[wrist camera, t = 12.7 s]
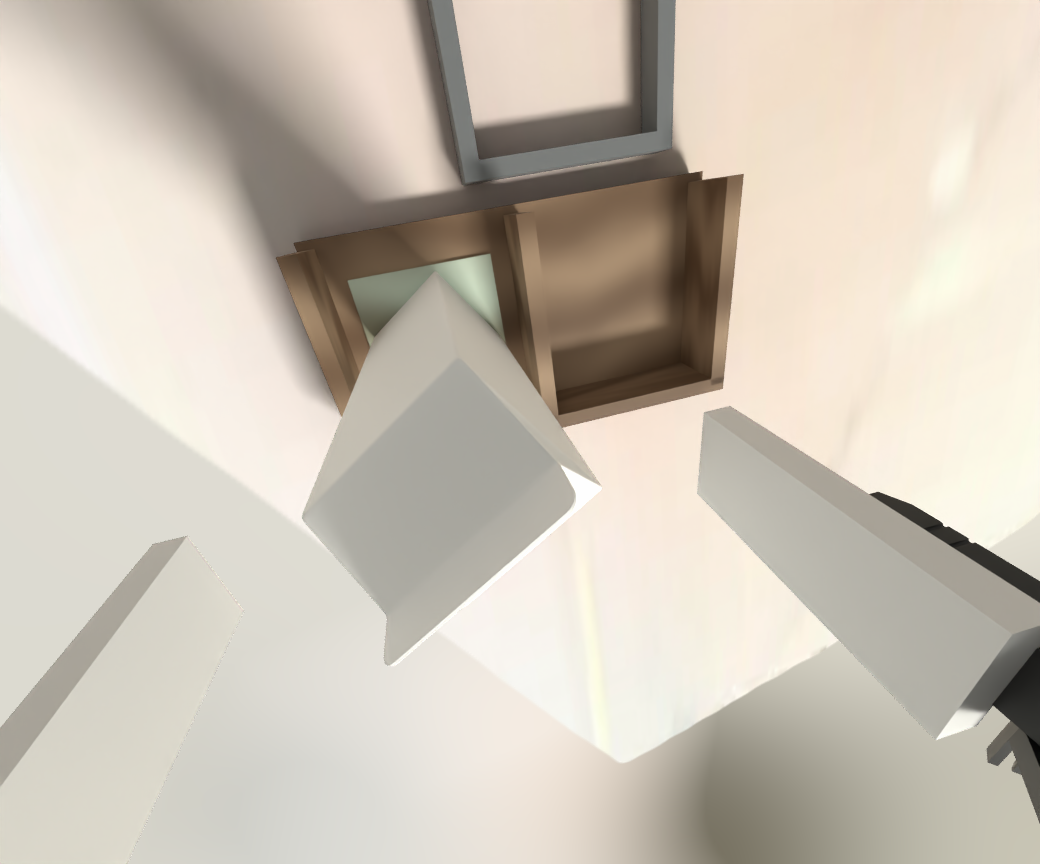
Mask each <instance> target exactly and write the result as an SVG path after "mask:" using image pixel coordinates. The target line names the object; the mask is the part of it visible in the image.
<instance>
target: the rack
mask: <svg viewBox="0 0 1040 864" xmlns="http://www.w3.org/2000/svg"><path fill="white" fill-rule="evenodd" d="M702 173H703V171H701V172H695V173H689V174H683V175H678V176H672V177H666V178H661V179H655V180H649V181H644V182H638V183H632V184H627V185H621V186H615V187H609V188H604V189H598V190H592V191H587V192H581V193H575V194H570V195H564V196H558V197H553V198H547V199H541V200H535V201H530V202H524V203H518V204H513V205H507V206H501V207H496V208H490V209H484V210H479V211H473V212H467V213H461V214H456V215H450V216H444V217H439V218H433V219H427V220H422V221H416V222H410V223H405V224H399V225H393V226H387V227H382V228H376V229H370V230H365V231H359V232H353V233H348V234H342V235H336V236H331V237H325V238H319V239H313V240H308V241H302V242H296V243H294V246H295V248H296V251H297V252H296V253H292V254H288V255H284V256H280V257H276V259H277V262H278V264H279V266H280V269H281V271H282V274H283V276H284V279H285V281H286V283H287V286H288V288H289V291H290V293H291V296H292V298H293V300H294V303H295V305H296V308H297V310H298V312H299V315H300V317H301V320H302V322H303V325H304V327H305V329H306V332H307V334H308V337H309V339H310V342H311V344H312V346H313V349H314V351H315V354H316V356H317V359H318V361H319V363H320V366H321V368H322V371H323V373H324V376H325V378H326V380H327V383H328V385H329V388H330V390H331V392H332V395H333V397H334V400H335V402H336V405H337V407H338V409H339V412H340V414H341V417H342V416H343V413H344V411H345V408H346V406H347V403H348V401H349V398H350V396H351V394H352V391H353V389H354V386H355V384H356V381H357V379H358V376H359V374H360V371H361V369H362V366H363V364H364V362H365V359H366V357H367V354H368V352H369V349H370V347H371V344H372V342H373V339H374V337H375V336H376V335H377V334H378V333H379V332H380V330H381V329H382V328H383V327H384V326H385V325H386V324H387V323H388V322H389V321H390V319H391V318H392V317H393V316H394V315H395V314H396V313H397V312H398V311H399V310H400V309H401V307H402V306H403V305H404V304H405V303H406V302H407V301H408V300H409V299H410V298H411V296H412V295H413V294H414V293H415V292H416V291H417V290H418V289H419V288H420V287H421V286H422V284H423V283H424V282H425V281H426V280H427V279H428V278H429V277H430V276H431V275H432V273H433V272H435V271H436V272H437V273H438V274H439V275H440V276H441V277H442V278H443V279H444V280H445V281H446V282H447V283H448V284H449V285H450V286H451V287H452V288H453V289H454V290H455V291H456V292H457V293H458V294H459V295H460V296H461V297H462V298H463V299H464V300H465V301H466V302H467V303H468V304H469V305H470V306H471V307H472V308H473V309H474V310H475V311H476V312H477V313H478V314H479V315H480V316H481V317H482V318H483V319H484V320H485V321H486V322H487V323H488V324H489V325H490V326H491V327H492V328H493V329H494V330H495V331H496V332H497V333H498V334H499V335H500V337H501V338H502V340H503V341H504V343H505V344H506V346H507V347H508V349H509V350H510V352H511V353H512V355H513V356H514V358H515V359H516V360H517V362H518V363H519V365H520V366H521V368H522V369H523V371H524V372H525V374H526V375H527V377H528V378H529V380H530V381H531V383H532V384H533V386H534V387H535V389H536V390H537V392H538V393H539V395H540V396H541V397H542V399H543V400H544V402H545V403H546V405H547V406H548V408H549V409H550V411H551V412H552V414H553V415H554V417H555V418H556V420H557V421H558V423H559V424H560V426H561V427H562V428H563V427H567V426H571V425H575V424H579V423H583V422H588V421H592V420H596V419H600V418H604V417H608V416H612V415H616V414H621V413H625V412H629V411H633V410H637V409H641V408H645V407H649V406H654V405H658V404H662V403H666V402H670V401H674V400H678V399H683V398H687V397H691V396H695V395H699V394H703V393H707V392H711V391H716V390H720V389H723V380H724V370H725V360H726V350H727V339H728V329H729V319H730V309H731V298H732V288H733V278H734V268H735V257H736V247H737V237H738V227H739V216H740V206H741V196H742V186H743V175H744V174H741V175H734V176H727V177H720V178H713V179H706V180H702Z"/></svg>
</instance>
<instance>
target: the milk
mask: <svg viewBox="0 0 1040 864" xmlns="http://www.w3.org/2000/svg"><path fill="white" fill-rule="evenodd" d="M601 489H602V486H601V485H600V483H599V482H598V480H597V479H596V477H595V476H594V474H593V473H592V471H591V470H590V469H589V467H588V466H587V464H586V463H585V461H584V460H583V458H582V457H581V455H580V454H579V452H578V451H577V449H576V448H575V446H574V445H573V443H572V442H571V440H570V439H569V437H568V436H567V434H566V433H565V432H564V430H563V429H562V427H561V426H560V424H559V423H558V421H557V420H556V418H555V417H554V415H553V414H552V412H551V411H550V409H549V408H548V406H547V405H546V403H545V402H544V400H543V399H542V397H541V396H540V395H539V393H538V392H537V390H536V389H535V387H534V386H533V384H532V383H531V381H530V380H529V378H528V377H527V375H526V374H525V372H524V371H523V369H522V368H521V366H520V365H519V363H518V362H517V360H516V359H515V358H514V356H513V355H512V353H511V352H510V350H509V349H508V347H507V346H506V344H505V343H504V341H503V340H502V338H501V337H500V335H499V334H498V333H497V332H496V331H495V330H494V329H493V328H492V327H491V326H490V325H489V324H488V323H487V322H486V321H485V320H484V319H483V318H482V317H481V316H480V315H479V314H478V313H477V312H476V311H475V310H474V309H473V308H472V307H471V306H470V305H469V304H468V303H467V302H466V301H465V300H464V299H463V298H462V297H461V296H460V295H459V294H458V293H457V292H456V291H455V290H454V289H453V288H452V287H451V286H450V285H449V284H448V283H447V282H446V281H445V280H444V279H443V278H442V277H441V276H440V275H439V274H438V273H437V272H436V271H435V272H433V273H432V275H431V276H430V277H429V278H428V279H427V280H426V281H425V282H424V283H423V284H422V286H421V287H420V288H419V289H418V290H417V291H416V292H415V293H414V294H413V295H412V296H411V298H410V299H409V300H408V301H407V302H406V303H405V304H404V305H403V306H402V307H401V309H400V310H399V311H398V312H397V313H396V314H395V315H394V316H393V317H392V318H391V319H390V321H389V322H388V323H387V324H386V325H385V326H384V327H383V328H382V329H381V330H380V332H379V333H378V334H377V335H376V336H375V337H374V339H373V342H372V344H371V347H370V349H369V352H368V354H367V357H366V359H365V362H364V364H363V366H362V369H361V371H360V374H359V376H358V379H357V381H356V384H355V386H354V389H353V391H352V394H351V396H350V398H349V401H348V403H347V406H346V408H345V411H344V413H343V416H342V418H341V421H340V423H339V425H338V428H337V430H336V433H335V435H334V438H333V440H332V443H331V445H330V448H329V450H328V453H327V455H326V457H325V460H324V462H323V465H322V467H321V470H320V472H319V475H318V477H317V480H316V482H315V485H314V487H313V489H312V492H311V494H310V497H309V499H308V502H307V504H306V507H305V509H304V512H303V515H302V519H303V521H304V522H305V524H306V525H307V526H308V527H309V528H310V529H311V531H312V532H313V533H314V534H315V535H316V536H317V537H318V538H319V540H320V541H321V542H322V543H323V544H324V545H325V546H326V547H327V549H328V550H329V551H330V552H331V553H332V554H333V555H334V556H335V558H336V559H337V560H338V561H339V562H340V563H341V564H342V566H343V567H344V568H345V569H346V570H347V571H348V572H349V573H350V574H351V576H352V577H353V578H354V579H355V580H356V581H357V582H358V584H359V585H360V586H361V587H362V588H363V589H364V590H365V591H366V593H367V594H368V595H369V596H370V597H371V598H372V599H373V600H374V602H375V603H376V604H377V605H378V606H379V607H380V608H381V610H382V611H383V612H384V613H385V614H386V617H387V623H386V636H385V648H384V661H385V664H386V665H388V666H391V667H393V666H395V665H397V664H398V663H399V662H400V661H402V660H403V659H404V658H405V657H406V656H407V655H408V654H410V653H411V652H412V651H413V650H414V649H415V648H417V647H418V646H419V645H420V644H421V643H422V642H423V641H425V640H426V639H427V638H428V637H429V636H430V635H432V634H433V633H434V632H435V631H436V630H437V629H439V628H440V627H441V626H442V625H443V624H444V623H446V622H447V621H448V620H449V619H450V618H451V617H452V616H454V615H455V614H456V613H457V612H458V611H459V610H461V609H462V608H463V607H465V606H467V605H468V604H469V603H471V602H472V601H473V600H474V599H475V598H476V597H478V596H479V595H480V594H481V593H482V592H483V591H485V590H486V589H487V588H488V587H489V586H490V585H491V584H493V583H494V582H495V581H496V580H497V579H498V578H500V577H501V576H502V575H503V574H504V573H505V572H507V571H508V570H509V569H510V568H511V567H512V566H514V565H515V564H516V563H517V562H518V561H519V560H520V559H522V558H523V557H524V556H525V555H526V554H527V553H529V552H530V551H531V550H532V549H533V548H534V547H536V546H537V545H538V544H539V543H540V542H541V541H542V540H544V539H545V538H546V537H547V536H548V535H549V534H551V533H552V532H553V531H554V530H555V529H556V528H558V527H559V526H560V525H561V524H562V523H563V522H564V521H566V520H567V519H568V518H569V517H570V516H571V515H573V514H574V513H575V512H576V511H577V510H578V509H580V508H581V507H582V506H583V505H584V504H585V503H587V502H588V501H589V500H590V499H591V498H592V497H593V496H595V495H596V494H597V493H598V492H599V491H600V490H601Z"/></svg>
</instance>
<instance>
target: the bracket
mask: <svg viewBox="0 0 1040 864" xmlns="http://www.w3.org/2000/svg"><path fill="white" fill-rule="evenodd" d="M427 1H428V6H429V11H430V16H431V22H432V27H433V32H434V37H435V43H436V48H437V53H438V58H439V64H440V69H441V74H442V79H443V85H444V90H445V95H446V101H447V106H448V111H449V116H450V122H451V127H452V132H453V137H454V143H455V148H456V153H457V158H458V164H459V169H460V174H461V179H462V185H468V184H474V183H480V182H486V181H492V180H498V179H504V178H510V177H516V176H522V175H528V174H534V173H540V172H546V171H552V170H558V169H564V168H570V167H576V166H581V165H587V164H593V163H599V162H605V161H611V160H617V159H623V158H629V157H635V156H641V155H647V154H653V153H658V152H661V151H665V150H668V149H672V126H673V84H674V43H675V1H676V0H641V117H642V134H636V135H630V136H624V137H617V138H611V139H605V140H599V141H593V142H586V143H580V144H574V145H568V146H562V147H555V148H549V149H543V150H537V151H531V152H525V153H518V154H512V155H506V156H500V157H494V158H487V159H481V160H479V157H478V151H477V145H476V139H475V133H474V127H473V122H472V116H471V110H470V104H469V98H468V92H467V86H466V80H465V74H464V68H463V62H462V56H461V50H460V45H459V39H458V33H457V27H456V21H455V15H454V9H453V3H452V0H427Z"/></svg>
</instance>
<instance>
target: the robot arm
mask: <svg viewBox="0 0 1040 864" xmlns="http://www.w3.org/2000/svg"><path fill="white" fill-rule="evenodd" d="M697 494H698V495H699V496H700V497H701V498H702V499H703V500H704V501H705V502H706V503H707V504H708V505H709V506H710V507H711V508H712V509H713V510H714V511H715V512H716V513H717V514H718V515H719V516H720V517H721V519H722V520H723V521H724V522H725V523H726V524H727V525H728V526H729V527H730V528H731V529H732V530H733V531H734V532H735V533H736V534H737V535H738V536H739V537H740V538H741V539H742V540H743V541H744V542H745V543H746V544H747V545H748V547H749V548H750V549H751V550H752V551H753V552H754V553H755V554H756V555H757V556H758V557H759V558H760V559H761V560H762V561H763V562H764V563H765V564H766V565H767V566H768V567H769V568H770V569H771V570H772V571H773V572H774V573H775V575H776V576H777V577H778V578H779V579H780V580H781V581H782V582H783V583H784V584H785V585H786V586H787V587H788V588H789V589H790V590H791V591H792V592H793V593H794V594H795V595H796V596H797V597H798V598H799V599H800V600H801V601H802V603H803V604H804V605H805V606H806V607H807V608H808V609H809V610H810V611H811V612H812V613H813V614H814V615H815V616H816V617H817V618H818V619H819V620H820V621H821V622H822V623H823V624H824V625H825V626H826V627H827V628H828V629H829V631H830V632H831V633H832V634H833V635H834V636H835V637H836V638H837V639H838V640H839V641H840V642H841V643H842V644H843V645H844V646H845V647H846V648H847V649H848V650H849V651H850V652H851V653H852V654H853V655H854V656H855V657H856V658H857V660H859V662H860V663H861V664H862V665H863V666H864V667H865V668H866V669H867V670H868V671H869V672H870V673H871V674H872V675H873V676H874V677H875V678H876V679H877V680H878V681H879V682H880V683H881V684H882V685H883V687H884V688H885V689H886V690H887V691H889V693H890V694H891V695H892V696H893V697H894V698H895V699H896V700H897V701H898V702H899V703H900V704H901V705H902V706H903V707H904V708H905V709H906V710H907V711H908V712H909V713H910V714H911V716H912V717H913V718H914V719H915V720H916V721H917V722H918V723H919V724H920V725H921V726H922V727H923V728H924V729H925V730H926V731H927V732H928V733H929V734H930V735H931V736H932V737H933V738H934V739H935V740H937V739H940V738H943V737H946V736H949V735H952V734H955V733H958V732H960V731H963V730H966V729H969V728H972V727H975V726H977V725H978V724H979V722H980V721H981V720H982V719H983V717H984V716H985V715H986V714H987V712H988V711H989V710H990V709H991V707H992V706H995V707H996V708H997V709H998V710H999V711H1000V712H1002V713H1003V714H1004V715H1005V716H1006V717H1007V718H1008V719H1009V720H1011V721H1010V722H1009V723H1008V724H1007V725H1006V727H1005V728H1004V729H1003V730H1002V731H1001V732H1000V733H999V735H998V736H997V737H996V738H995V739H994V740H993V742H992V743H991V744H990V745H989V746H988V748H987V759H988V763H991V764H994V765H996V766H998V765H999V764H1000V763H1001V762H1002V761H1003V759H1005V758H1006V757H1007V756H1008V755H1009V753H1010V752H1011V751H1012V750H1013V753H1014V756H1015V758H1016V761H1015V762H1014V765H1013V767H1012V771H1013V772H1016V773H1018V774H1021V775H1022V777H1023V779H1024V782H1025V785H1026V787H1027V790H1028V793H1029V795H1030V798H1031V801H1032V803H1033V806H1034V809H1035V812H1036V814H1037V817H1038V820H1039V823H1040V581H1038V580H1037V579H1035V578H1033V577H1032V576H1030V575H1028V574H1027V573H1025V572H1023V571H1022V570H1020V569H1018V568H1017V567H1015V566H1014V565H1012V564H1010V563H1009V562H1006V561H1005V560H1003V559H1002V558H1000V557H999V556H997V555H995V554H994V553H992V552H990V551H989V550H987V549H985V548H984V547H982V546H980V545H979V544H977V543H971V542H969V540H968V539H969V538H967V537H965V536H964V535H962V534H960V533H959V532H957V531H955V530H954V529H952V528H950V527H944V526H943V523H942V522H940V521H939V520H937V519H935V518H934V517H932V516H930V515H929V514H927V513H925V512H924V511H922V510H920V509H919V508H917V507H915V506H914V505H912V504H909V503H906V502H904V501H901V500H898V499H896V498H893V497H890V496H888V495H885V494H883V493H880V492H876V493H872V494H868V493H866V492H865V491H863V490H861V489H860V488H858V487H857V486H855V485H854V484H852V483H850V482H849V481H847V480H846V479H844V478H843V477H841V476H839V475H838V474H836V473H835V472H833V471H832V470H830V469H828V468H827V467H825V466H824V465H822V464H821V463H819V462H817V461H816V460H814V459H813V458H811V457H810V456H808V455H806V454H805V453H803V452H802V451H800V450H799V449H797V448H795V447H794V446H792V445H791V444H789V443H788V442H786V441H784V440H783V439H781V438H780V437H778V436H776V435H775V434H773V433H772V432H770V431H769V430H767V429H765V428H764V427H762V426H761V425H759V424H758V423H756V422H754V421H753V420H751V419H750V418H748V417H747V416H745V415H743V414H742V413H740V412H739V411H737V410H736V409H734V408H732V407H731V406H729V407H725V408H720V409H716V410H712V411H708V412H704V418H703V430H702V442H701V454H700V466H699V478H698V490H697ZM243 612H244V610H243V609H242V608H241V606H240V605H239V604H238V602H237V601H236V600H235V598H234V597H233V596H232V594H231V593H230V592H229V590H228V589H227V588H226V586H225V585H224V584H223V582H222V581H221V580H220V578H219V577H218V576H217V575H216V573H215V572H214V570H213V569H212V568H211V567H210V565H209V564H208V562H207V561H206V560H205V558H204V557H203V556H202V554H201V553H200V552H199V551H198V549H197V548H196V546H195V545H194V544H193V543H192V541H191V540H190V539H189V537H188V536H185V537H181V538H176V539H172V540H168V541H164V542H160V543H156V544H153V545H152V546H151V547H150V548H149V550H148V551H147V552H146V553H145V554H144V556H143V557H142V558H141V559H140V560H139V562H138V563H137V564H136V565H135V566H134V568H133V569H132V570H131V571H130V572H129V574H128V575H127V576H126V577H125V578H124V580H123V581H122V582H121V583H120V584H119V586H118V587H117V588H116V590H114V592H113V593H112V594H111V595H110V596H109V598H108V599H107V600H106V601H105V603H104V604H103V605H102V606H101V607H100V608H99V610H98V611H97V612H96V613H95V614H94V616H93V617H92V618H91V619H90V621H89V622H88V623H87V624H86V625H85V627H84V628H83V629H82V630H81V631H80V633H79V634H78V635H77V636H76V637H75V639H74V640H73V641H72V642H71V643H70V645H69V646H68V647H67V648H66V649H65V651H64V652H63V653H62V654H61V655H60V657H59V658H58V659H57V660H56V662H55V663H54V664H53V665H52V666H51V667H50V669H49V670H48V671H47V672H46V674H45V675H44V676H43V677H42V678H41V679H40V681H39V682H38V683H37V684H36V685H35V687H34V688H33V689H32V690H31V692H30V693H29V694H28V695H27V696H26V698H25V699H24V700H23V701H22V702H21V704H20V705H19V706H18V707H17V708H16V710H15V711H14V712H13V713H12V714H11V716H10V717H9V718H8V719H7V720H6V722H5V723H4V724H3V725H2V726H1V728H0V864H128V862H129V859H130V857H131V855H132V853H133V851H134V848H135V846H136V844H137V842H138V840H139V837H140V836H141V833H142V831H143V829H144V827H145V825H146V823H147V820H148V818H149V816H150V813H151V812H152V809H153V807H154V805H155V803H156V801H157V799H158V797H159V794H160V792H161V790H162V788H163V786H164V783H165V781H166V779H167V777H168V775H169V773H170V771H171V768H172V766H173V764H174V762H175V760H176V758H177V755H178V753H179V751H180V749H181V747H182V744H183V742H184V740H185V738H186V736H187V734H188V732H189V729H190V727H191V725H192V723H193V721H194V719H195V716H196V714H197V712H198V710H199V708H200V706H201V703H202V701H203V699H204V697H205V695H206V692H207V690H208V688H209V686H210V684H211V682H212V679H213V677H214V675H215V673H216V671H217V669H218V667H219V664H220V662H221V660H222V658H223V655H224V653H225V651H226V649H227V647H228V645H229V643H230V640H231V638H232V636H233V634H234V632H235V630H236V628H237V625H238V623H239V621H240V619H241V617H242V614H243Z"/></svg>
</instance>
